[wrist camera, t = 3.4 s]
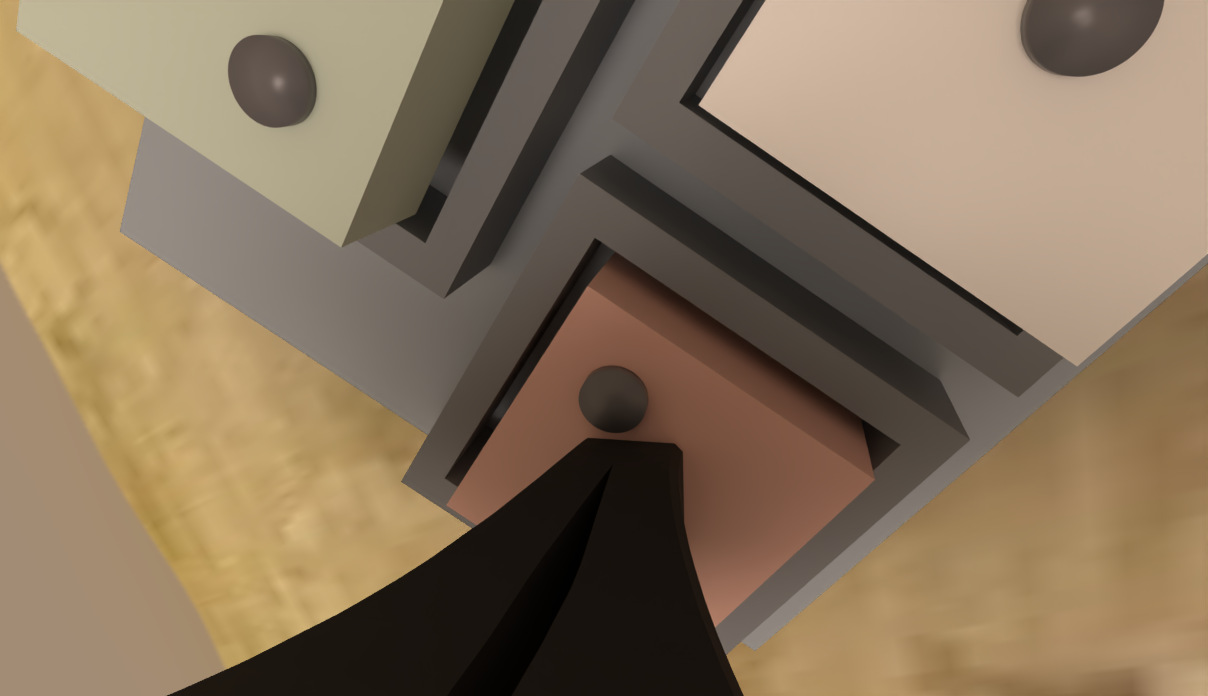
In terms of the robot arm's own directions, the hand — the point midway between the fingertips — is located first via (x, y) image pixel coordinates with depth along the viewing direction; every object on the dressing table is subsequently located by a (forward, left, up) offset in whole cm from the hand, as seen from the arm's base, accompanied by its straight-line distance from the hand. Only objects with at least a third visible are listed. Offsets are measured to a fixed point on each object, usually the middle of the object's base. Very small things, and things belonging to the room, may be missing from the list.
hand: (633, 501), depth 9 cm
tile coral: (0, 0, -2) cm, 2 cm away
